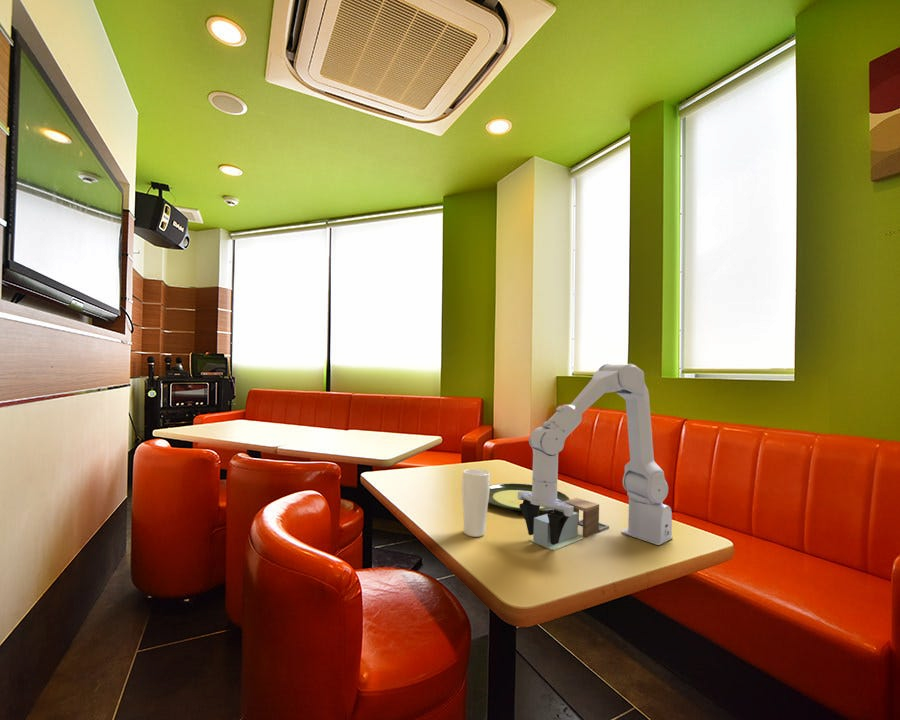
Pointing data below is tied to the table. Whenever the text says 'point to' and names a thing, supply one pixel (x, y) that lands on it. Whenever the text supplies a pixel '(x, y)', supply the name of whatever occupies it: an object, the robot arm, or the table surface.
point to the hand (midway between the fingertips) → (543, 538)
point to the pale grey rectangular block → (543, 529)
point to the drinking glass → (475, 501)
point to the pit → (601, 526)
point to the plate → (514, 496)
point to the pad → (562, 543)
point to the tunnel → (586, 515)
